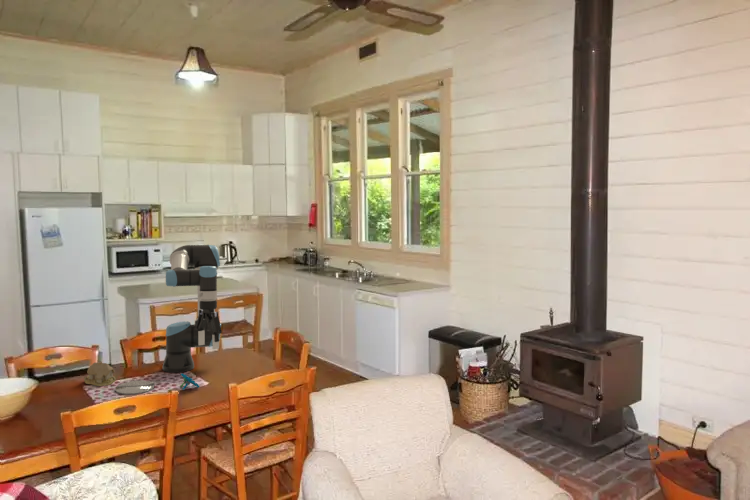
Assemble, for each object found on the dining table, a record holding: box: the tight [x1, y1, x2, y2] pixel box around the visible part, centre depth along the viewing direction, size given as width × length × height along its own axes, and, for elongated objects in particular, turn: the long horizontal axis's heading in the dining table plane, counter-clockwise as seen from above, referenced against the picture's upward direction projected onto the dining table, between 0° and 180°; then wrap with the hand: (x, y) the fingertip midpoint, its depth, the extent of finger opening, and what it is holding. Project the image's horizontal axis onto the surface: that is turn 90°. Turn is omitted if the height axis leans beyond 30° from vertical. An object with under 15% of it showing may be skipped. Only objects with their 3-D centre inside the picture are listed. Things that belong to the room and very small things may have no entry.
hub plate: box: [115, 380, 155, 396], centre depth 251 cm, size 16×16×1 cm
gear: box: [180, 372, 201, 391], centre depth 252 cm, size 11×6×10 cm
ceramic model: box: [83, 360, 117, 387], centre depth 259 cm, size 14×11×10 cm
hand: (208, 347), depth 252 cm, fingers open, 13 cm apart
